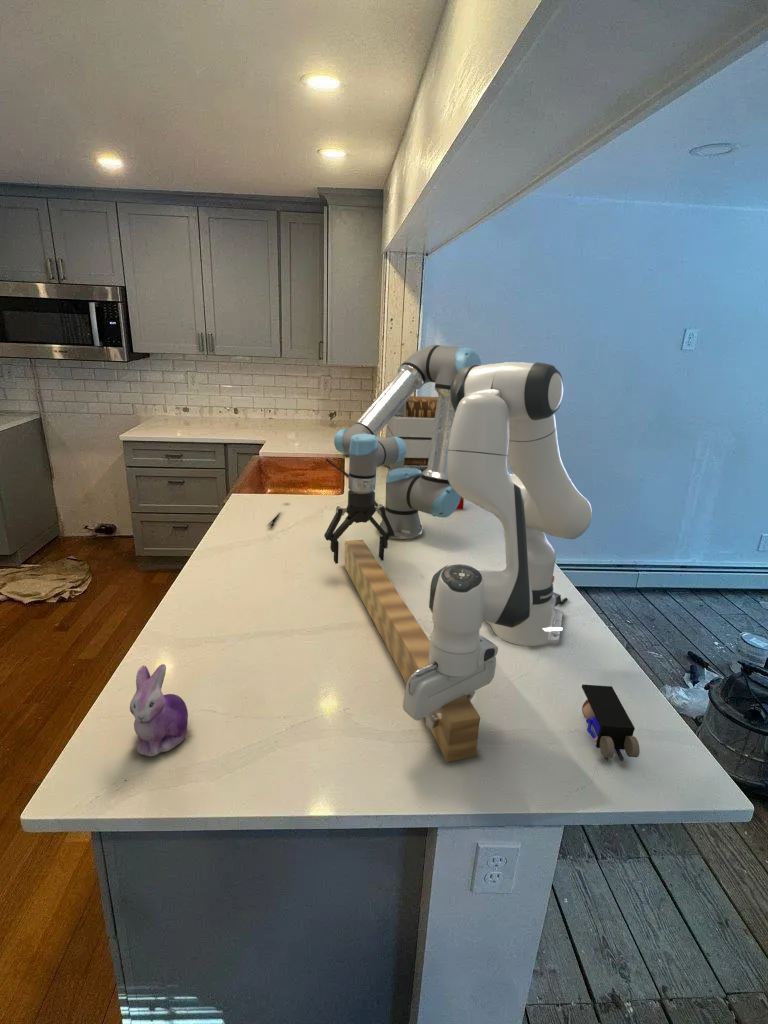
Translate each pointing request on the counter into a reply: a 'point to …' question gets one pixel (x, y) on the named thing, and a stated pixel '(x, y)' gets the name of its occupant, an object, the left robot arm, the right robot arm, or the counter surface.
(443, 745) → the post
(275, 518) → the feather
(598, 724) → the figurine character
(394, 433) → the grey boxy frame
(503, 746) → the counter surface
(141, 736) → the figurine
